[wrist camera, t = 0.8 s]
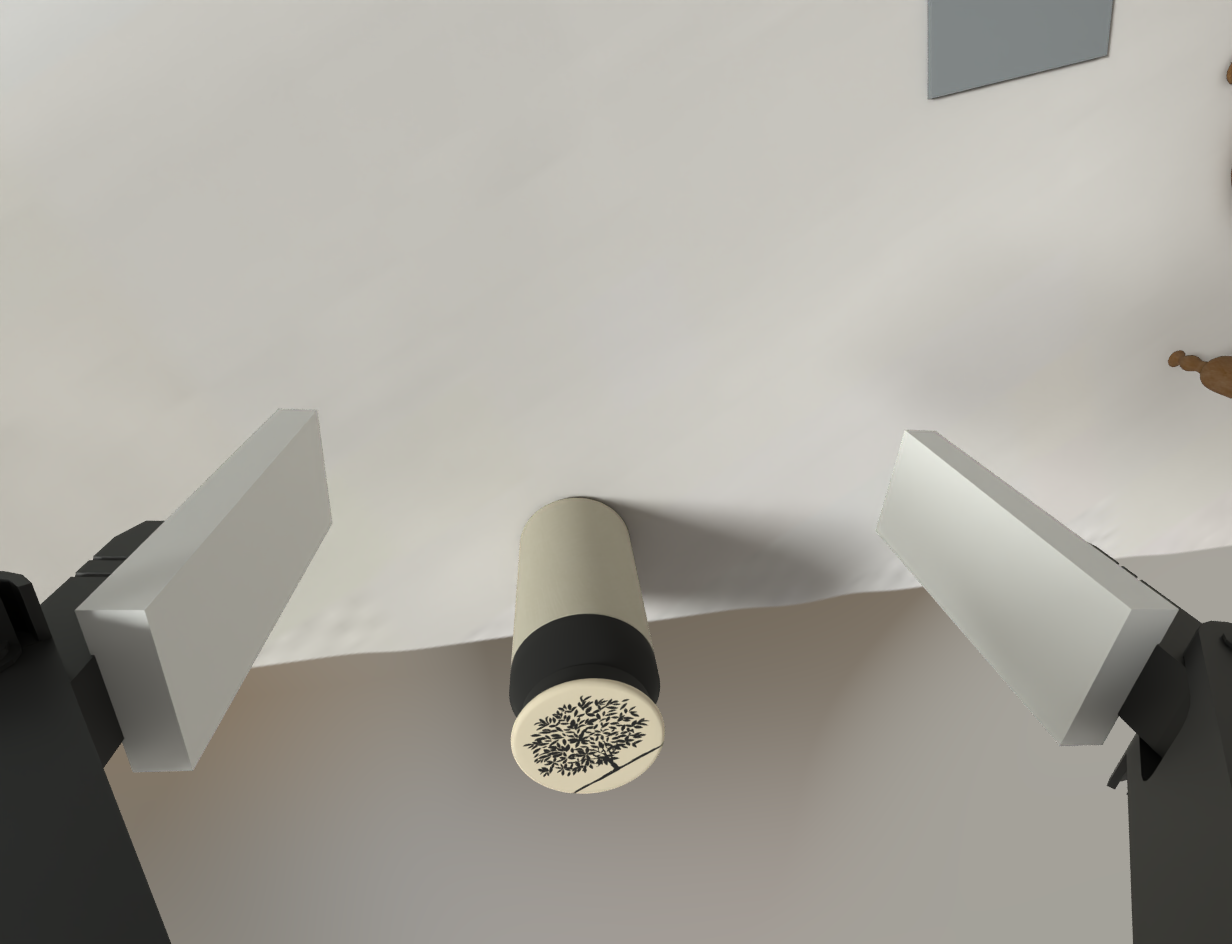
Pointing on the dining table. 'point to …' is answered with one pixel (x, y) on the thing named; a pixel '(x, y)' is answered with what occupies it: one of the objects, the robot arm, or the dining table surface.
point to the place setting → (1217, 374)
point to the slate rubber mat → (1010, 39)
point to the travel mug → (582, 653)
